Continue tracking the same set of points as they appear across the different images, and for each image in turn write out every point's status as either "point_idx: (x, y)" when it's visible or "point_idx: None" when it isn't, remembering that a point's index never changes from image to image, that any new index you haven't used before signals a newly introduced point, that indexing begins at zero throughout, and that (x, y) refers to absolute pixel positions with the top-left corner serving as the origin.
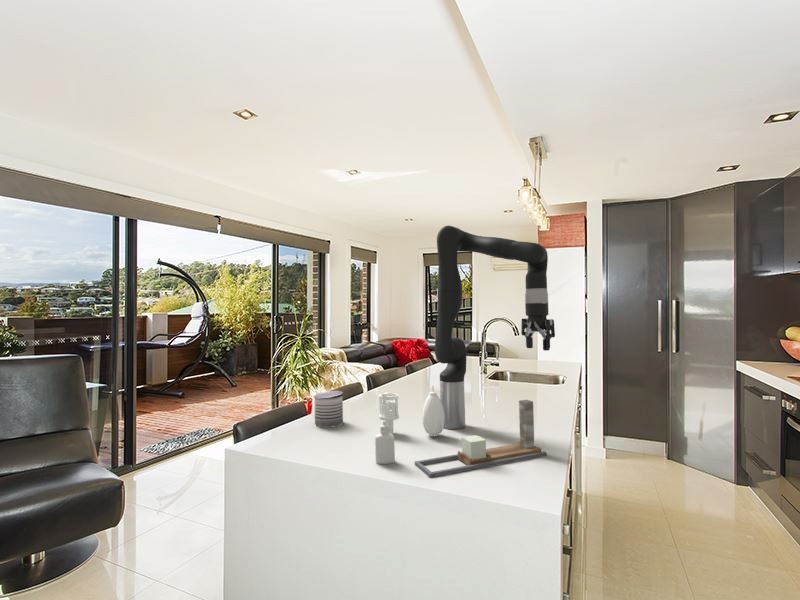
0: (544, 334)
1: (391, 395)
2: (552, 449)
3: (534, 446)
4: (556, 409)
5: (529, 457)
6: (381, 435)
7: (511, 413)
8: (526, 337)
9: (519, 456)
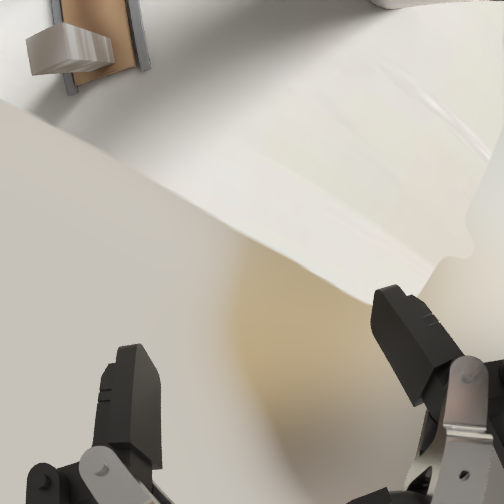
0: (99, 501)
1: None
2: (108, 126)
3: (95, 74)
4: None
5: None
6: None
7: (424, 183)
8: (459, 363)
9: (58, 22)
